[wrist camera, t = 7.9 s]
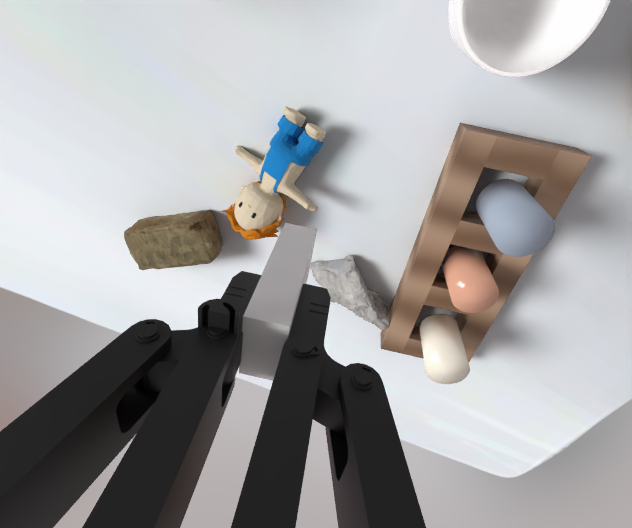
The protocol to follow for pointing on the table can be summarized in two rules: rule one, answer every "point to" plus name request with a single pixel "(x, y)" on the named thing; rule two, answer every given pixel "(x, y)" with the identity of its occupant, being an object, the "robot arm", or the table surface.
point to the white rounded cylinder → (443, 349)
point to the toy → (275, 177)
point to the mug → (522, 32)
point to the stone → (350, 290)
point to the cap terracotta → (469, 280)
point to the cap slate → (514, 218)
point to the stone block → (174, 240)
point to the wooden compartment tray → (474, 228)
